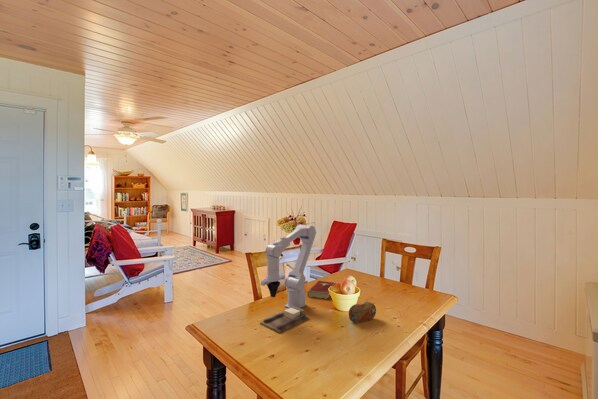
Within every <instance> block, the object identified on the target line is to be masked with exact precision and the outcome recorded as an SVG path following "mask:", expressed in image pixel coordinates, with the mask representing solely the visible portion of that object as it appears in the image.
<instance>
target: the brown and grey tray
mask: <svg viewBox="0 0 598 399" xmlns="http://www.w3.org/2000/svg"><path fill="white" fill-rule="evenodd" d="M290 308H294V309H296V310H299V311H300V316H298V317H296V318H294V319H290V318H288V317H285V316H284V310H283V311H280V312H279V313H276V314H274V315H272V316H269V317H267V318H264V319H263V320H261V321H259V324H260V325H262V326H264V327H265V328H268V329H270V330H271V331H274V332H276V333H278V334H281V333H283V332H285V331H287V330H289V329H291V328H293V327H295V326H297V325H299V324H301V323H303V322H305V321H308V320H310V317H309V316H308V315H307V314H306V313H305V309H302V308H297V307H295V306H290Z"/></svg>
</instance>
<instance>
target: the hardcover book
mask: <svg viewBox="0 0 598 399" xmlns="http://www.w3.org/2000/svg"><path fill="white" fill-rule="evenodd" d="M336 284H337V282H332V281H325V280H324V281H323V280H318V281H317V282H315V283H314V285H312V287H310V289H308V290H307V297H308V298H309V297H310V298H315V297H316V298H317V299H322V298H324V299H323V300H328V299H329V297H330V296H329V291H328V288H329V287H330V286H334V285H335V286H336ZM316 298H315V299H316ZM327 298H328V299H327Z"/></svg>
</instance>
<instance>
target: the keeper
mask: <svg viewBox="0 0 598 399" xmlns="http://www.w3.org/2000/svg"><path fill="white" fill-rule="evenodd" d="M283 311H284V316H285V317H288V318H290V319H294V318H296V317H298V316H300V311H299V310H296V309H294V308H286V309H285V310H283Z"/></svg>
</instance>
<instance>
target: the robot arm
mask: <svg viewBox="0 0 598 399" xmlns="http://www.w3.org/2000/svg"><path fill="white" fill-rule="evenodd" d="M316 234H317V231H316V227H315V226H314V225H309V224H303V223H302V224H301V223H299V224H298V225H296V226H295V228H294V229H293V230H292V231H291V232H290V233H288V235H287V236H280V237H279V239H278V240H276V241H274V242H273V243H272V244H269V245H267V246H266V247H265V250H264V254H265V256H266V259H267V267H266V268H267V271H266V273H267V276H266V278H265V279H263V280H261V281H260V286H265V285H266V286H267V289H268V291H269V294H270V297H271V298H275V297H276V296H277V293H278V289H279V287H280V285H281V280H285V281H284V285H285V287H286V289H287V304H284V307H285V308H287V309H289V308H290V306H295V307H297V308H300V309H302V308H303V307H305V306H307V304H306V290H305V289H304V288H305V286H306V276H305V274H304V271H305V268H306V266H307V263H308V259H309V257H310V253H311V250H312V248H313V244H314V241H315V237H316ZM297 238H299V239H300V240H301V242H302V245H301V247H300V250H299V253H298V256H297V259H296V262H295V265H294V268H293V270H291V271H290V272H288V274H287V277H286V276H285V274H280V257H281V255H282V253H283V252H284V251H285V250H286V249H288V248H289V247H290V246H291V243H292V242H293V241H294V240H296V239H297Z"/></svg>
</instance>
